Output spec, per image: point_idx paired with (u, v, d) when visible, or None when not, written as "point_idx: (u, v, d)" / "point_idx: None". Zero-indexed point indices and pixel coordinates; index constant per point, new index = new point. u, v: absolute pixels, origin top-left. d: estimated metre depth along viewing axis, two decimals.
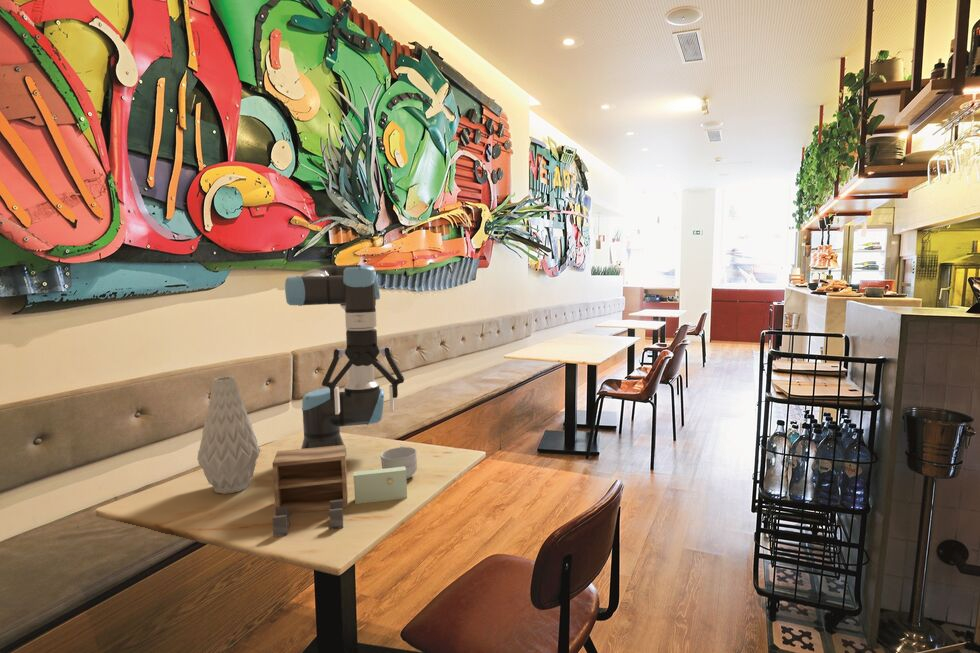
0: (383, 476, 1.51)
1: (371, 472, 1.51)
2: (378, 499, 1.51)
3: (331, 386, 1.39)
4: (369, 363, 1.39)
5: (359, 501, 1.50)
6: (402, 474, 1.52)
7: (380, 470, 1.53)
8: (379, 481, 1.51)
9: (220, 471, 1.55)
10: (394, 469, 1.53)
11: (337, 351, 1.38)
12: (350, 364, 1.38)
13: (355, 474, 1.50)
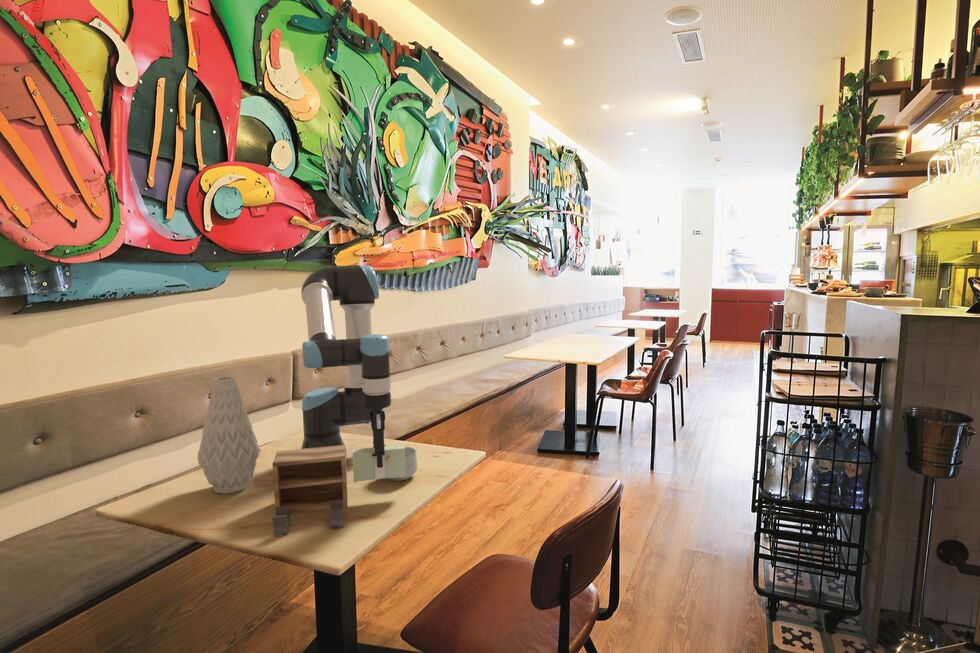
0: None
1: (370, 450, 1.51)
2: None
3: (373, 447, 1.55)
4: (374, 425, 1.49)
5: (358, 478, 1.50)
6: (401, 452, 1.52)
7: None
8: None
9: (220, 471, 1.55)
10: (393, 447, 1.53)
11: (371, 411, 1.56)
12: (371, 423, 1.52)
13: (353, 452, 1.50)
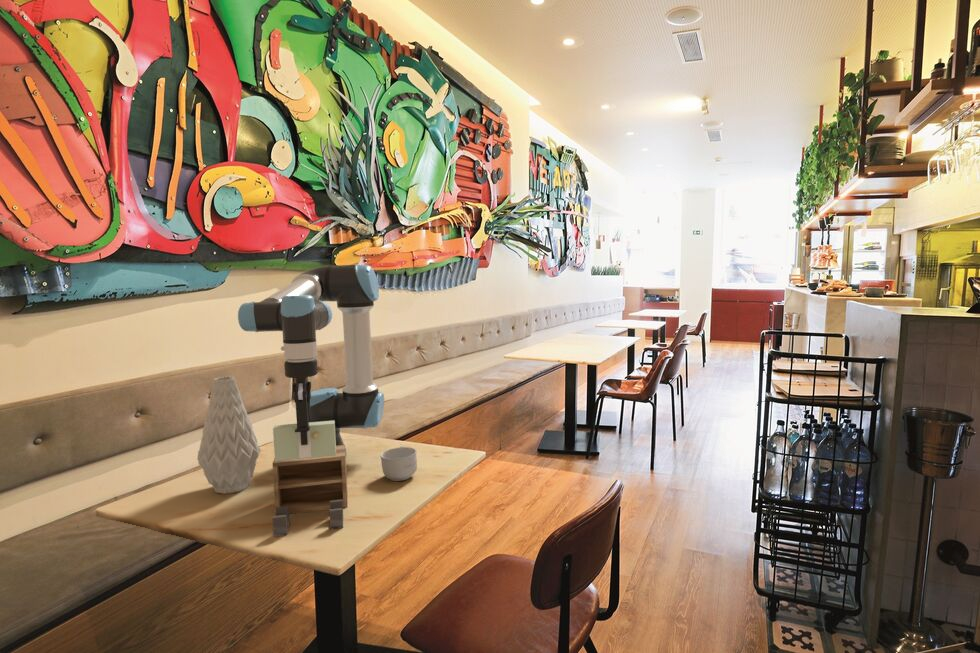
0: None
1: (294, 425, 1.34)
2: None
3: None
4: None
5: (280, 458, 1.32)
6: (330, 428, 1.35)
7: None
8: None
9: (220, 471, 1.55)
10: (321, 422, 1.36)
11: None
12: None
13: (275, 427, 1.32)
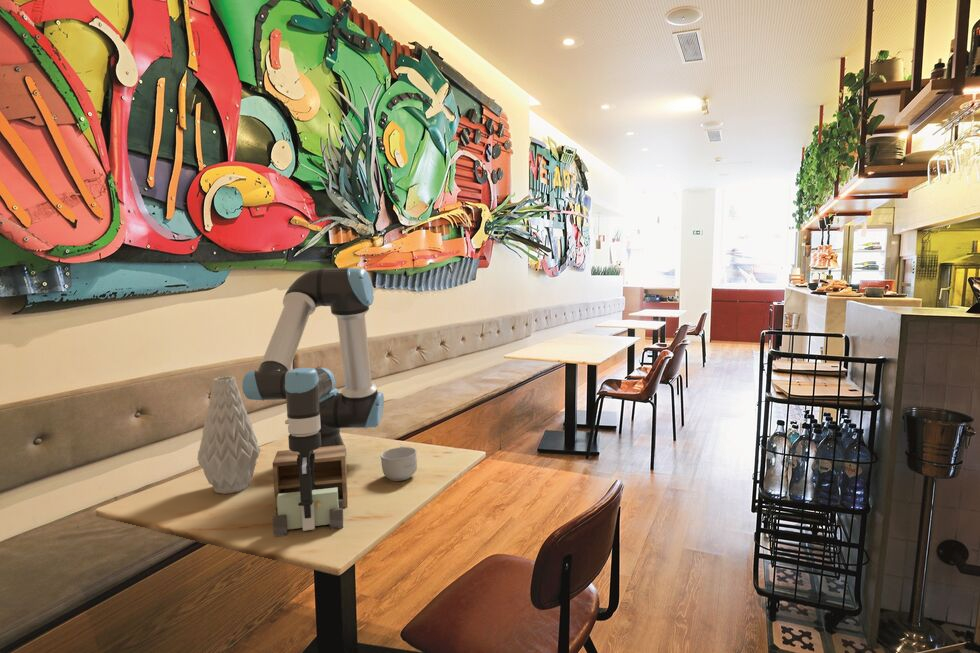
0: None
1: (298, 494, 1.35)
2: None
3: None
4: None
5: None
6: (333, 496, 1.36)
7: None
8: None
9: (220, 471, 1.55)
10: (324, 490, 1.37)
11: None
12: None
13: (278, 497, 1.34)
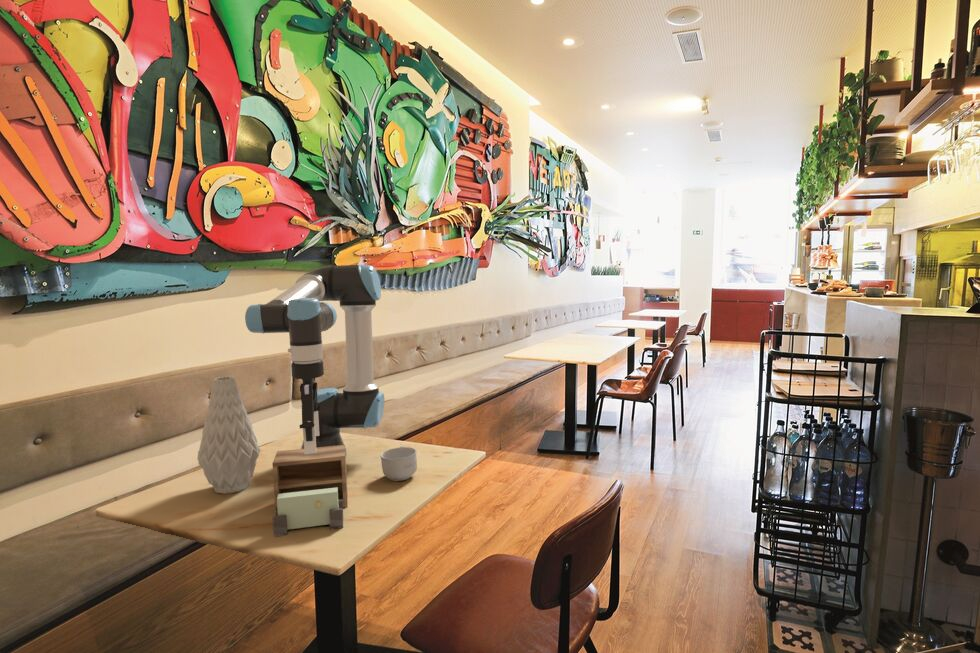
0: (311, 498, 1.35)
1: (298, 494, 1.35)
2: (305, 524, 1.35)
3: None
4: None
5: None
6: (333, 496, 1.36)
7: (308, 492, 1.37)
8: (306, 505, 1.35)
9: (220, 471, 1.55)
10: (324, 490, 1.37)
11: None
12: None
13: (278, 497, 1.34)
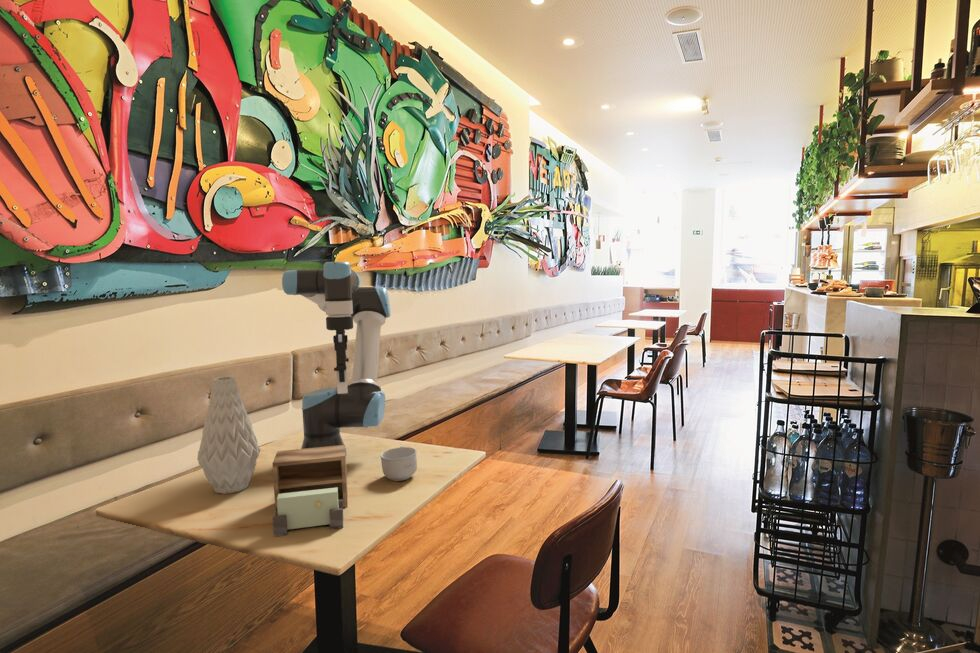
0: (311, 498, 1.35)
1: (298, 494, 1.35)
2: (305, 524, 1.35)
3: None
4: None
5: None
6: (333, 496, 1.36)
7: (308, 492, 1.37)
8: (306, 505, 1.35)
9: (220, 471, 1.55)
10: (324, 490, 1.37)
11: None
12: None
13: (278, 497, 1.34)
